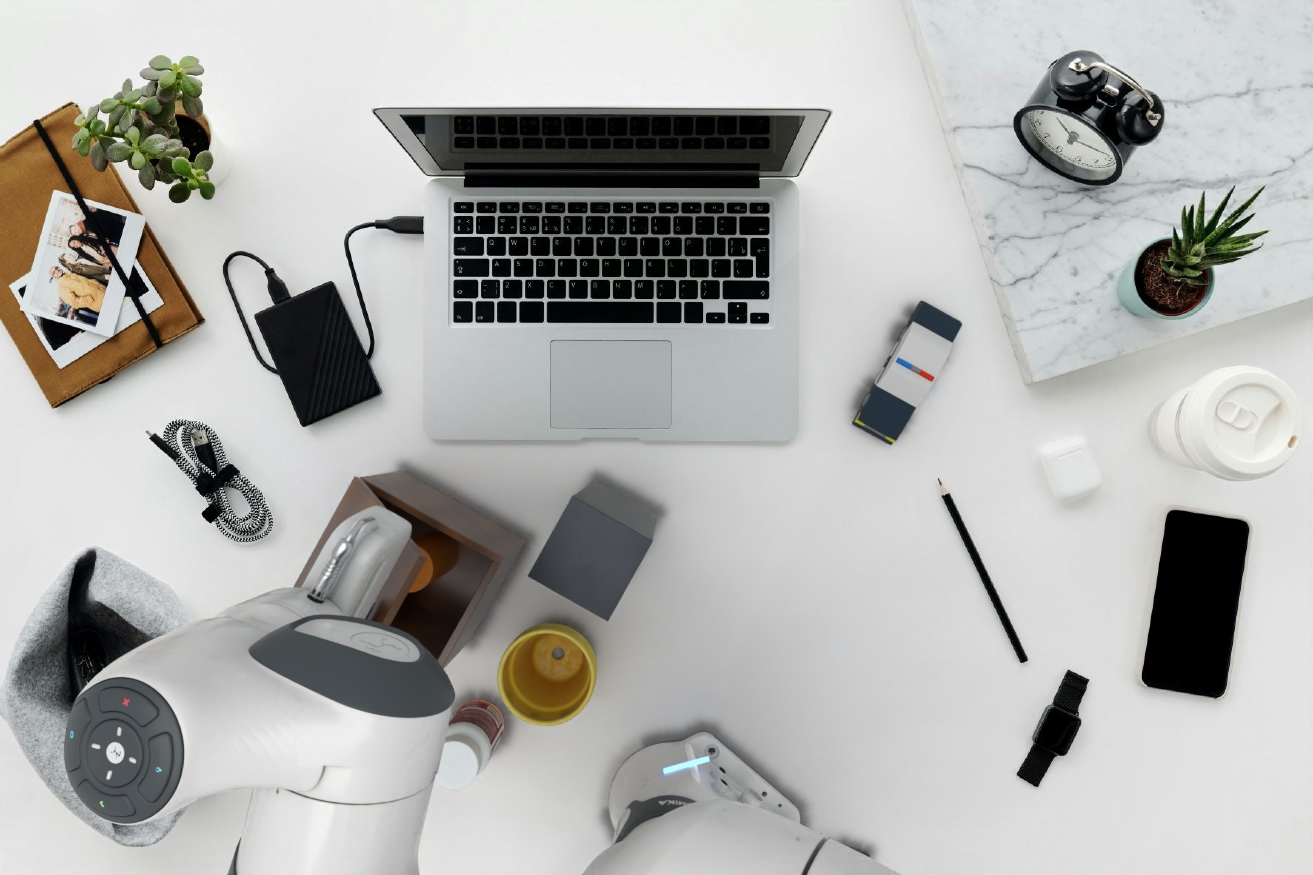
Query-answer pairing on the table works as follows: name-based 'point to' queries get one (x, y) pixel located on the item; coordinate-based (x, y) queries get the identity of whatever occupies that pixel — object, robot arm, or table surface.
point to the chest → (468, 589)
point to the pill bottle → (469, 743)
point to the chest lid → (403, 569)
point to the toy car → (908, 373)
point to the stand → (596, 548)
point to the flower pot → (547, 675)
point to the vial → (435, 558)
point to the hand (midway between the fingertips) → (361, 609)
